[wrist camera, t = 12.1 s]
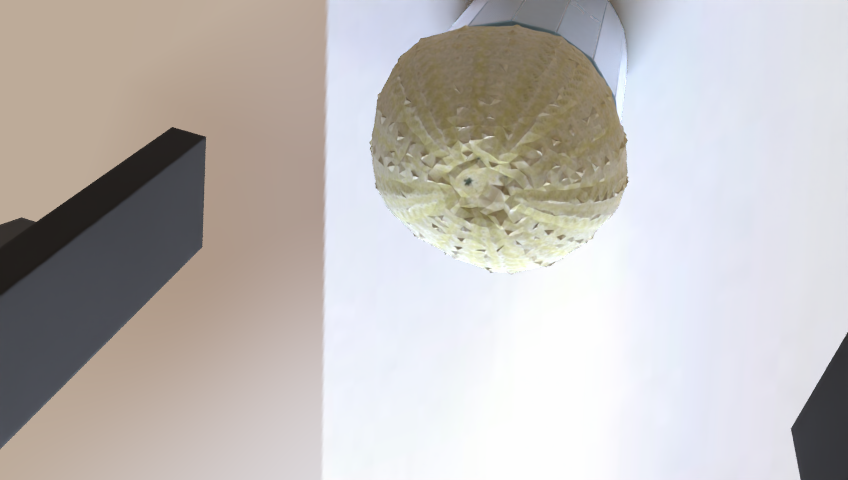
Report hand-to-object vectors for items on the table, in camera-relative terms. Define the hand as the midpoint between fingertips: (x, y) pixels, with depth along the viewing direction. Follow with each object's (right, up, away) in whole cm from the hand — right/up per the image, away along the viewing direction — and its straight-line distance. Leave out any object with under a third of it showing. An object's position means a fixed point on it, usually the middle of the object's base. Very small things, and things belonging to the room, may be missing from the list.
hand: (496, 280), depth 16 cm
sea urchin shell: (+2, +5, +14) cm, 15 cm away
